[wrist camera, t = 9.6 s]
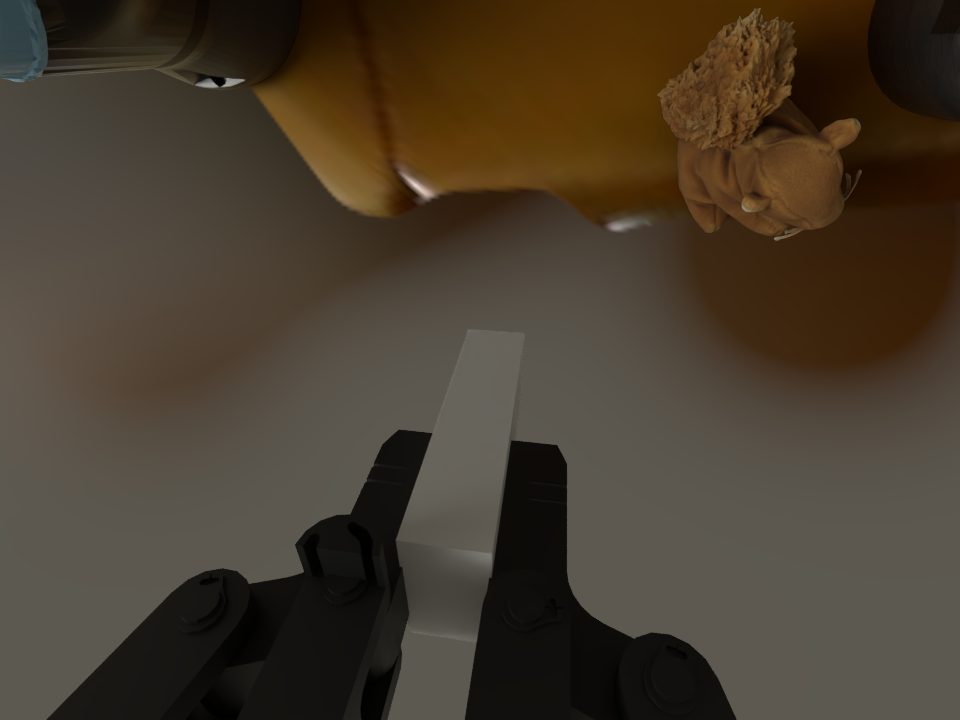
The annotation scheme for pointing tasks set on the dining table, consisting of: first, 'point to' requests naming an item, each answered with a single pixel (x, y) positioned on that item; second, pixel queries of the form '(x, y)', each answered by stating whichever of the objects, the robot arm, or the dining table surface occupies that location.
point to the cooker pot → (917, 55)
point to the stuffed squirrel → (754, 136)
